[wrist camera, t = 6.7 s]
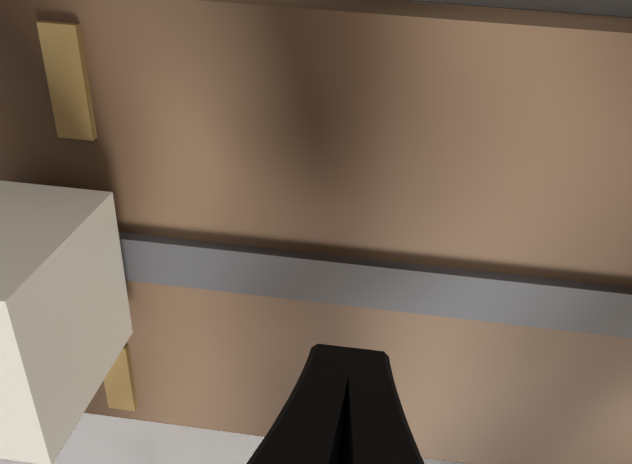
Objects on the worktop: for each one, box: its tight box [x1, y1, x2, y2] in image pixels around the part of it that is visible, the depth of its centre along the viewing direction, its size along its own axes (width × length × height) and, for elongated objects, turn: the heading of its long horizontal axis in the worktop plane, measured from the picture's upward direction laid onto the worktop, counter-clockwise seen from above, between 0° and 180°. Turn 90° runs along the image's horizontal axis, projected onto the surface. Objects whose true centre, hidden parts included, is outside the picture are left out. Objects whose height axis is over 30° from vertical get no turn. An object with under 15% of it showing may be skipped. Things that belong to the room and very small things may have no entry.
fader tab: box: [0, 181, 133, 464], centre depth 12 cm, size 3×4×4 cm
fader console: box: [0, 0, 632, 464], centre depth 14 cm, size 22×12×2 cm, turn 87°
